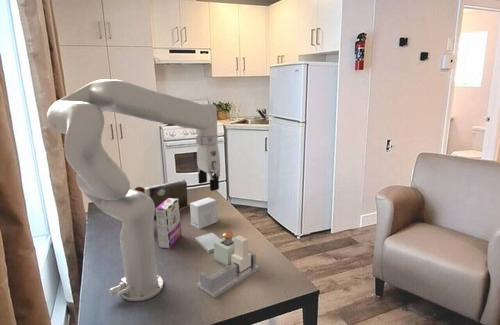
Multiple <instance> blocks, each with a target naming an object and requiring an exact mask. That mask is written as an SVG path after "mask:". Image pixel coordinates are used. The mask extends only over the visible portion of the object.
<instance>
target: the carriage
mask: <svg viewBox="0 0 500 325" xmlns="http://www.w3.org/2000/svg"><path fill="white" fill-rule="evenodd" d="M233 238H234V254H233V255H231V261H232V264H233V263H237V264H239V271H240V272H242V271H243V270H245V269H246V268H248V267H250V266H251V254H250V253H248V251H249V238H248V237H247V238H246V237H244V236H241V235H240V234H239V235H237V236H235V237H233Z"/></svg>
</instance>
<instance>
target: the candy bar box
mask: <svg viewBox="0 0 500 325" xmlns="http://www.w3.org/2000/svg"><path fill="white" fill-rule="evenodd" d="M155 212H156V218H155V220H156V228H157V229H156V230H157V239H158V248H160V249H161V248H162V249H171V248H172V247H173V246H174V245H175V244H176V242H177V241H178V240H179V239H180V238H181V237H182V227H181V215H180V211H179V199H174V198H167V199H166V200H165V201H164V202H163V203H162V204H160V205H159V206H158V207H157V208H155Z"/></svg>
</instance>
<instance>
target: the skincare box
mask: <svg viewBox="0 0 500 325" xmlns="http://www.w3.org/2000/svg"><path fill="white" fill-rule="evenodd" d="M217 201H218V200H217V199H215V198H212V197H209V196H208V197H205V198H202V199H198V200H196V201H193V202H190V203H189V208H190V209H189V212H190V225H191V226H193V227H195V228H197V229H199V230H200V229H203V228H205V227H208V226H211V225H213V224H216V223H218V221H219V220H218V204H217V203H218V202H217Z"/></svg>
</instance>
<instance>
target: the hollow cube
mask: <svg viewBox="0 0 500 325" xmlns="http://www.w3.org/2000/svg"><path fill="white" fill-rule="evenodd" d="M234 238H235V237H232V244H231V245H229V246H226V245H224V243H223V237H222V238H220V240H218V241H216V242H214V251H213V258H214V259H213V260H214V262H217V263H218V264H220V265H222V266H223V267H224V268H225V267H227V266H228V265H230V264H232V261H231V255H233V254H234Z"/></svg>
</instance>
